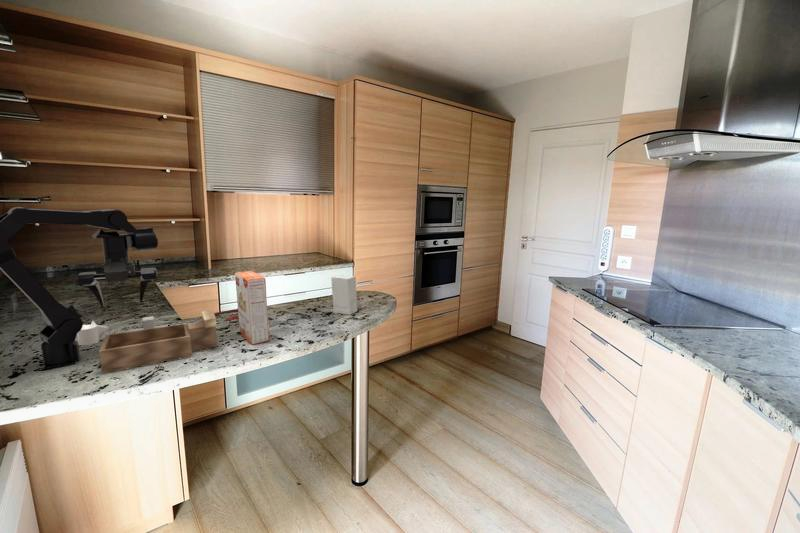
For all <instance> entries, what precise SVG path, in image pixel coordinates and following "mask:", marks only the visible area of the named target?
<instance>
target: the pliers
mask: <svg viewBox="0 0 800 533" xmlns="http://www.w3.org/2000/svg"><path fill="white" fill-rule="evenodd" d="M231 312H238V307H237V308H235V309H229V310H222V311H217V312H213V313H214V315H219V314H224V313H231ZM238 318H239V316H238V313H237V314H235V315H230V316H227V317H226V318H225V320H224V322H225V321H231V320H234V319H238Z"/></svg>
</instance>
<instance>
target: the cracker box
mask: <svg viewBox="0 0 800 533" xmlns="http://www.w3.org/2000/svg"><path fill="white" fill-rule="evenodd" d="M234 278H235V290H236V302H237V308H238V316H239V320H238V326H239V328H238V329H239V333H240V332H241V333H240V334H241V335H242V336H243V337H244V338H245V340H247V342H248V343H249V344H250V345H252V346H253V345H259V344H262V343H265V342H270V331H269V317H268V316H269V315H268V301H267V300H268V299H267V286H266V285H267V283H266V277H264V276H262V275H260V274H259V273H257V272H255V271H253V270H248V271H247V270H246V271H238V272H235V273H234Z"/></svg>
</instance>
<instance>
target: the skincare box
mask: <svg viewBox="0 0 800 533" xmlns="http://www.w3.org/2000/svg"><path fill="white" fill-rule="evenodd" d="M330 280H331V293H332V294H331V296H332V305H333V306H332V307H333V308H332V309H333V310H332V311H333V313H334V314H335V313H336V314H341V315H342V314H343V315H353V314H355V313H357V312H358V298H357V296H358V295H357V283H356V281H357V280H356V275H344V274H337V275H334V276H332V277H331V279H330Z"/></svg>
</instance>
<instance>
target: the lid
mask: <svg viewBox="0 0 800 533" xmlns="http://www.w3.org/2000/svg"><path fill="white" fill-rule="evenodd" d="M141 320H142V321H141V322H142V328H141V327H140V328H135V329H129V330H128V331H127V332H129V331H135V330H142V329H149V328H156V327H163V326H168V325H169V324H170V323H169V324H163V325H156V326H155V316H152V315H151V316H147V317H146V316H145V317H142V319H141Z"/></svg>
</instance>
